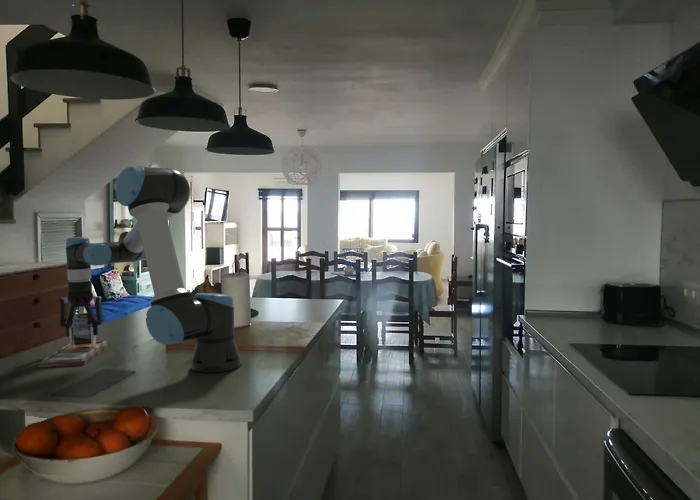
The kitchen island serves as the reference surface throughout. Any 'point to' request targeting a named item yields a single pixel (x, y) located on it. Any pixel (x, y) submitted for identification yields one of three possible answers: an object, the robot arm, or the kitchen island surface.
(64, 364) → the framed panel board
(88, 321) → the beverage can
